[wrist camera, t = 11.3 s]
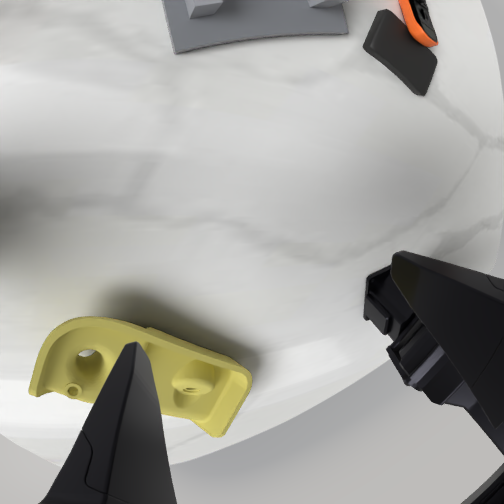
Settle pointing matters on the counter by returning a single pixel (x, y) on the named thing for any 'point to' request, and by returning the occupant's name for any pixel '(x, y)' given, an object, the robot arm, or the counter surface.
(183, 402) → the plastic component
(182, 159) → the counter surface
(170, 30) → the header socket
